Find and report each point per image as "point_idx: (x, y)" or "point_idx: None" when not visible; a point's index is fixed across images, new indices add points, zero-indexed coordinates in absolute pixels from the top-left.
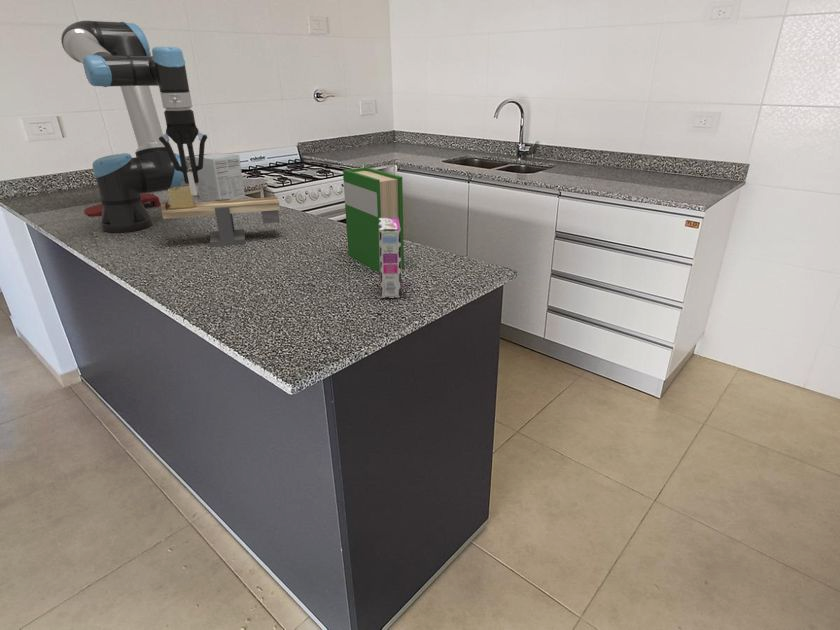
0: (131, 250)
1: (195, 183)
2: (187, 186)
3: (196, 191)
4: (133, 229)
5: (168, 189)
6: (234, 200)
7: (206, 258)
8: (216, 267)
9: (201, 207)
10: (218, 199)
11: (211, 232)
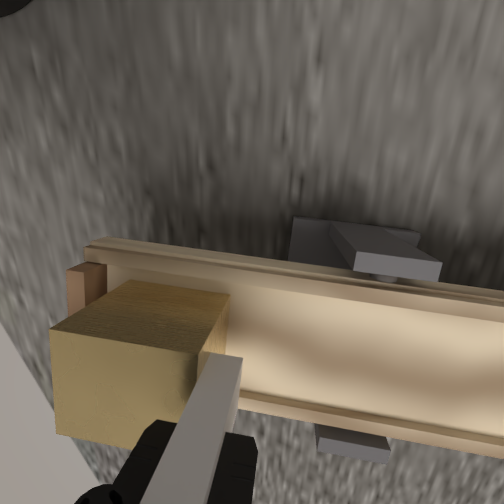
0: (62, 270)
1: (229, 405)
2: (172, 364)
3: (237, 396)
4: (9, 9)
5: (56, 403)
6: (458, 315)
7: (257, 430)
8: (275, 499)
9: (261, 347)
10: (370, 253)
11: (292, 232)
